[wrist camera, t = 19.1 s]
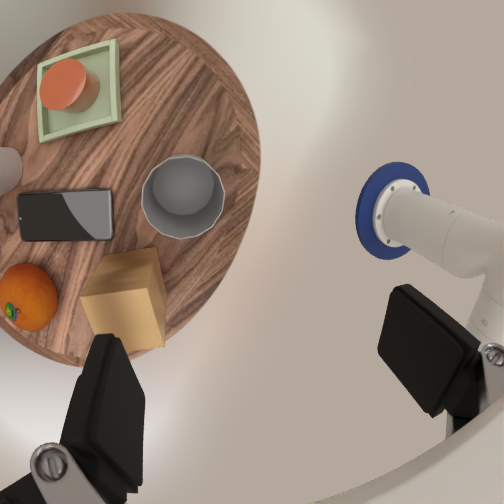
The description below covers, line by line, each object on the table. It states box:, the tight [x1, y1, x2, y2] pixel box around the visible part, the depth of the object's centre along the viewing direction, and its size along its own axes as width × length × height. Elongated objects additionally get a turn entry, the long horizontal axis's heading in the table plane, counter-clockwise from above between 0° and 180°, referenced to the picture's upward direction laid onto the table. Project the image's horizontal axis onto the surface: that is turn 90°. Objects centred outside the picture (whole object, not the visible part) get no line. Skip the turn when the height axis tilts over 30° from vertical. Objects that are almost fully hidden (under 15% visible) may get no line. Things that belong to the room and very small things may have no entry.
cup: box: [141, 153, 225, 239], centre depth 31 cm, size 8×8×10 cm
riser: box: [80, 247, 167, 351], centre depth 34 cm, size 8×8×12 cm
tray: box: [37, 39, 122, 143], centre depth 26 cm, size 12×12×3 cm
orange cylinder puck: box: [39, 59, 100, 114], centre depth 24 cm, size 6×6×6 cm
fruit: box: [0, 263, 58, 331], centre depth 32 cm, size 11×10×8 cm
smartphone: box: [16, 188, 114, 242], centre depth 32 cm, size 7×1×16 cm
